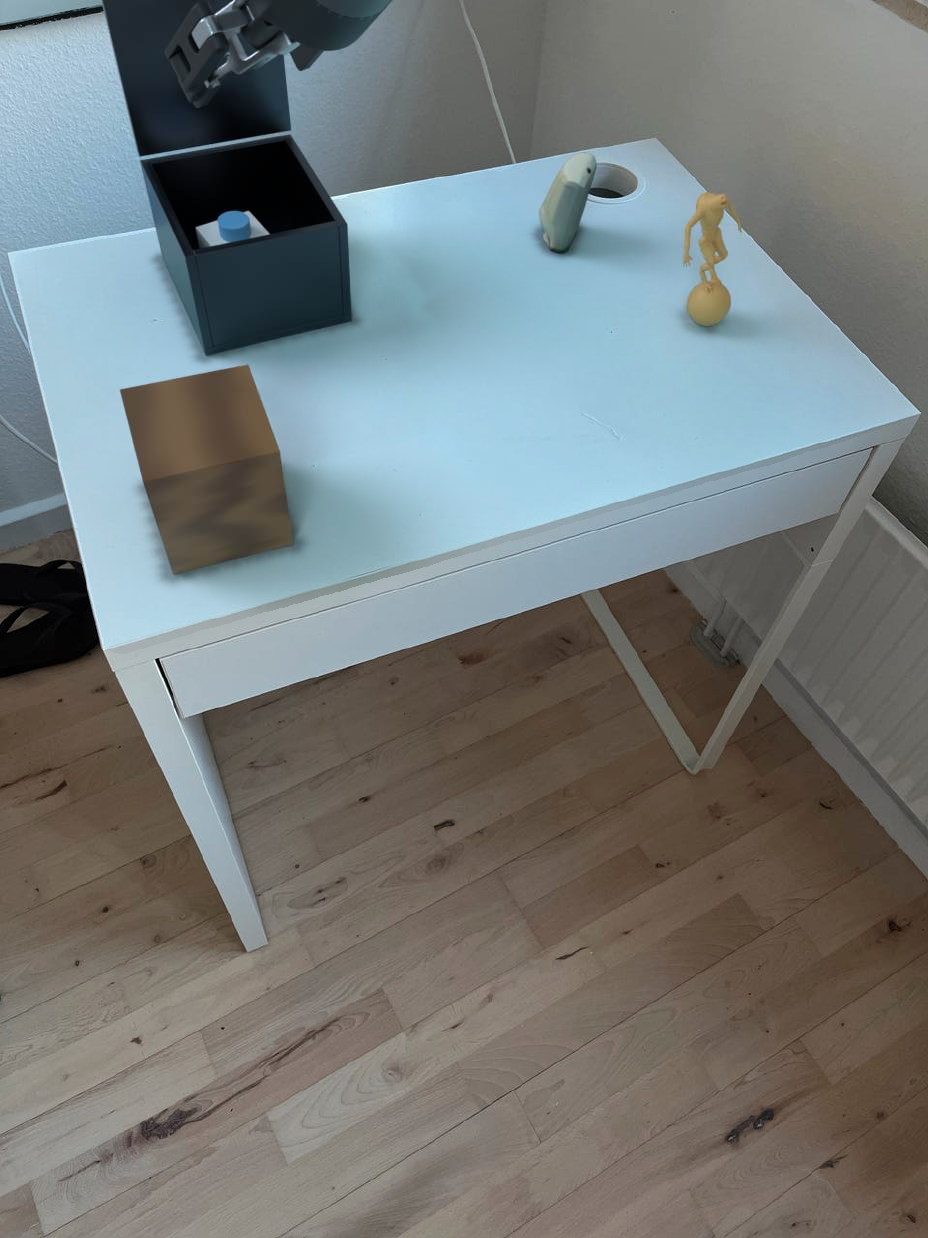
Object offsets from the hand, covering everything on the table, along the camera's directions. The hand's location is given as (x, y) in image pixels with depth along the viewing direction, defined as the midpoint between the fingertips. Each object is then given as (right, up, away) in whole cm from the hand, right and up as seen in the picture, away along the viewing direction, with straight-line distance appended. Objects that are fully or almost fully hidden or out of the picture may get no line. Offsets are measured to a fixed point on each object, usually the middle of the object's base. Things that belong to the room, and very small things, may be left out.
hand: (245, 73), depth 65 cm
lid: (-6, +9, +12) cm, 16 cm away
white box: (-5, -9, +20) cm, 23 cm away
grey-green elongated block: (+25, +1, +30) cm, 39 cm away
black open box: (-4, -7, +23) cm, 24 cm away
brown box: (-4, -30, +7) cm, 31 cm away
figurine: (+37, -9, +25) cm, 45 cm away
